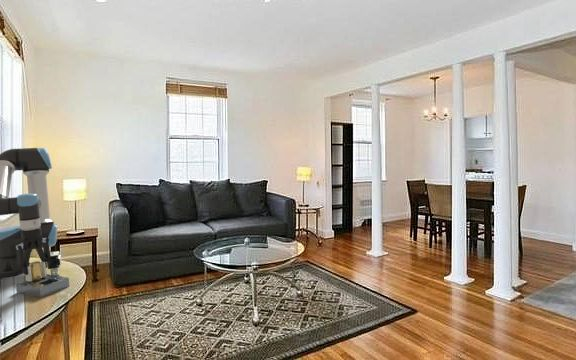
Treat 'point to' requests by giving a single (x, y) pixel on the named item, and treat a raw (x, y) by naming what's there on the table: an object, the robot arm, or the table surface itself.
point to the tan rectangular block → (35, 271)
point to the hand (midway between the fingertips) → (36, 278)
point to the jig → (43, 286)
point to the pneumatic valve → (54, 262)
